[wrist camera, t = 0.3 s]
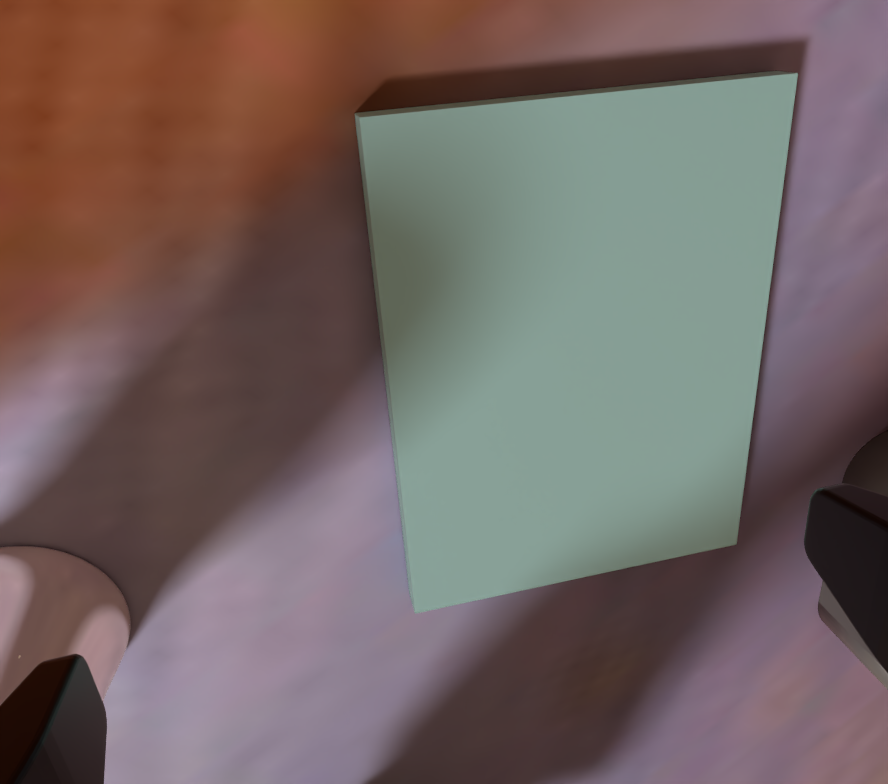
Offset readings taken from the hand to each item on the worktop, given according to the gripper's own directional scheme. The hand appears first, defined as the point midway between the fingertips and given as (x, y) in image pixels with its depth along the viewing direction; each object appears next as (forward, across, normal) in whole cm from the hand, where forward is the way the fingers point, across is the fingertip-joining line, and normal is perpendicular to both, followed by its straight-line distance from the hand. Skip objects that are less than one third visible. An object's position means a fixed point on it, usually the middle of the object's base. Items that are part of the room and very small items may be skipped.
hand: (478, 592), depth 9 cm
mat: (+14, -7, +4) cm, 16 cm away
